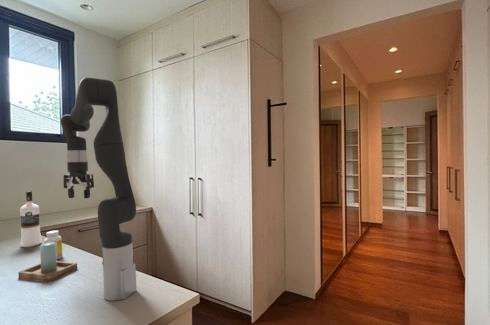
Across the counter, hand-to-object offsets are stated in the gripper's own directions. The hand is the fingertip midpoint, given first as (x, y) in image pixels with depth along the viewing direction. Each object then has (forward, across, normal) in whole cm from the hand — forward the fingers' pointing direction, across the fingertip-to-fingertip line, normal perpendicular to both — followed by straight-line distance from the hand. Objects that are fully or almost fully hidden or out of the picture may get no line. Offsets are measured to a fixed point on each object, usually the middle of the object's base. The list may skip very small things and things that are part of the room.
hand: (79, 198), depth 112 cm
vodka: (+30, -54, +17) cm, 64 cm away
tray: (+30, -7, -9) cm, 32 cm away
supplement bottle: (+30, -21, +4) cm, 37 cm away
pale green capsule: (+29, -7, -9) cm, 31 cm away
